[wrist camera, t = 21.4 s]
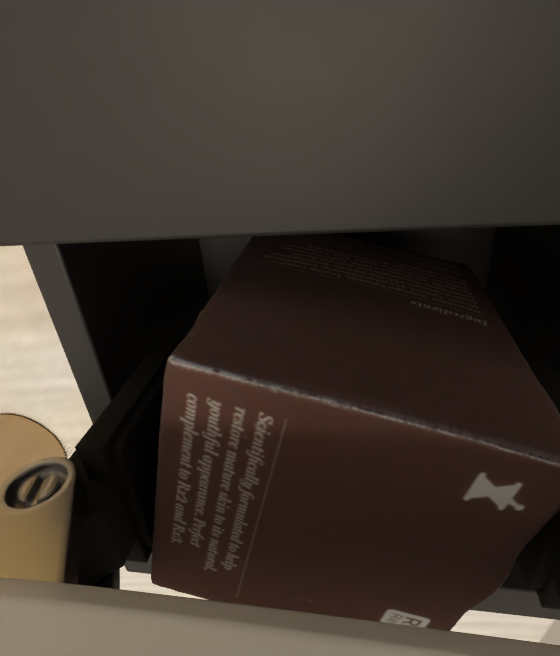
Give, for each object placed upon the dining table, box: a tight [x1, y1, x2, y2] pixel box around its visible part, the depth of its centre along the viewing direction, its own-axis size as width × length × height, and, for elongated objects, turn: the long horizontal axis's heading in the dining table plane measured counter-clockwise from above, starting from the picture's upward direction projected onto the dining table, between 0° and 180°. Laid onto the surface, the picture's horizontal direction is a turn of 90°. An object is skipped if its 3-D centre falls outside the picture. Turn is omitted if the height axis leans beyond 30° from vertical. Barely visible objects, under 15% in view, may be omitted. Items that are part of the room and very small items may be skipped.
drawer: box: [23, 225, 560, 620], centre depth 14 cm, size 19×13×9 cm
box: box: [151, 233, 560, 631], centre depth 10 cm, size 6×6×7 cm
